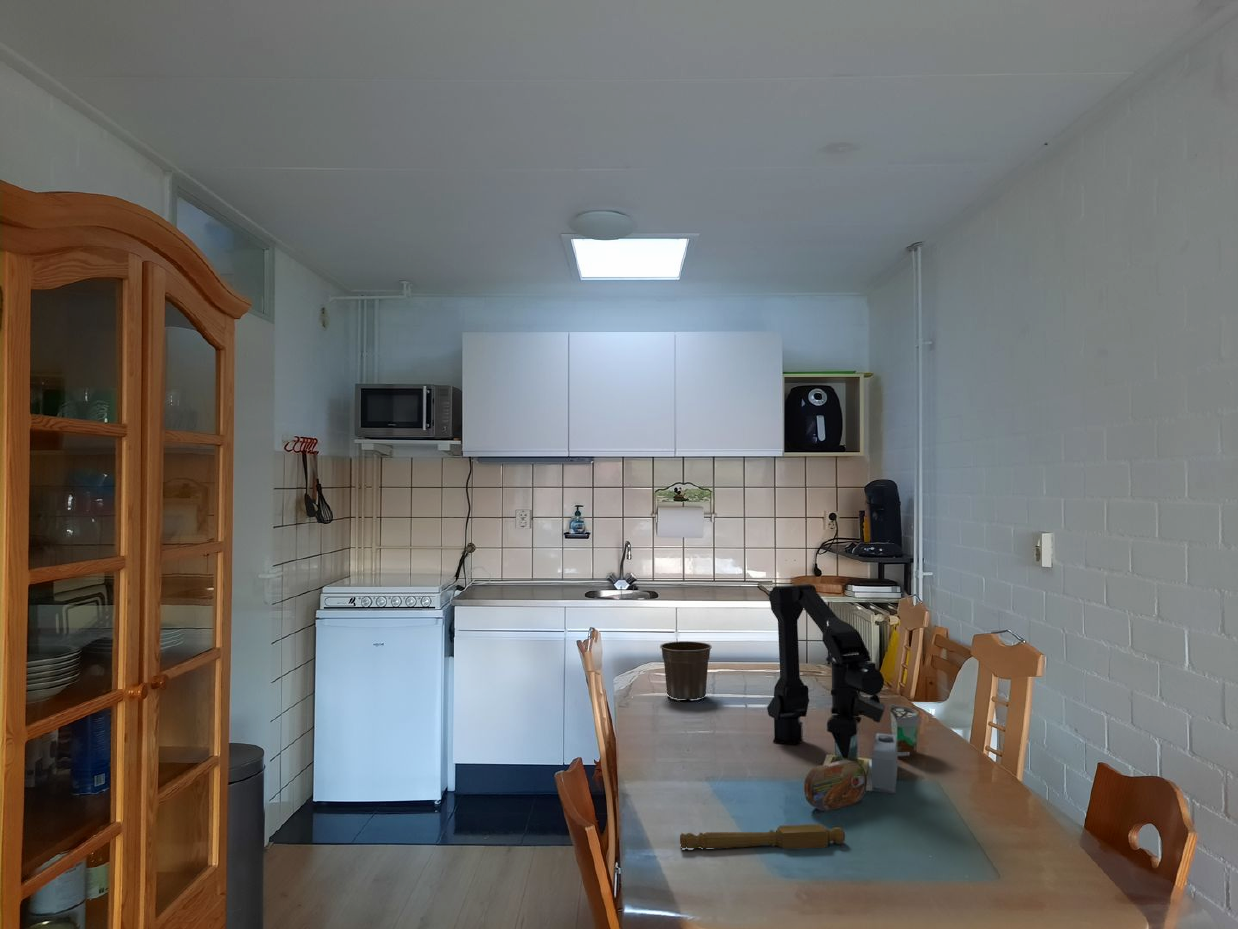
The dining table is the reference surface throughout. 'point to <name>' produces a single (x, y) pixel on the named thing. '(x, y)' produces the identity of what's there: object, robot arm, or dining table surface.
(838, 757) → the spout can
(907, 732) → the food container
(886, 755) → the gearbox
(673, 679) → the plant pot
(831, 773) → the tin
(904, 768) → the dining table surface
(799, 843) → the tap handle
